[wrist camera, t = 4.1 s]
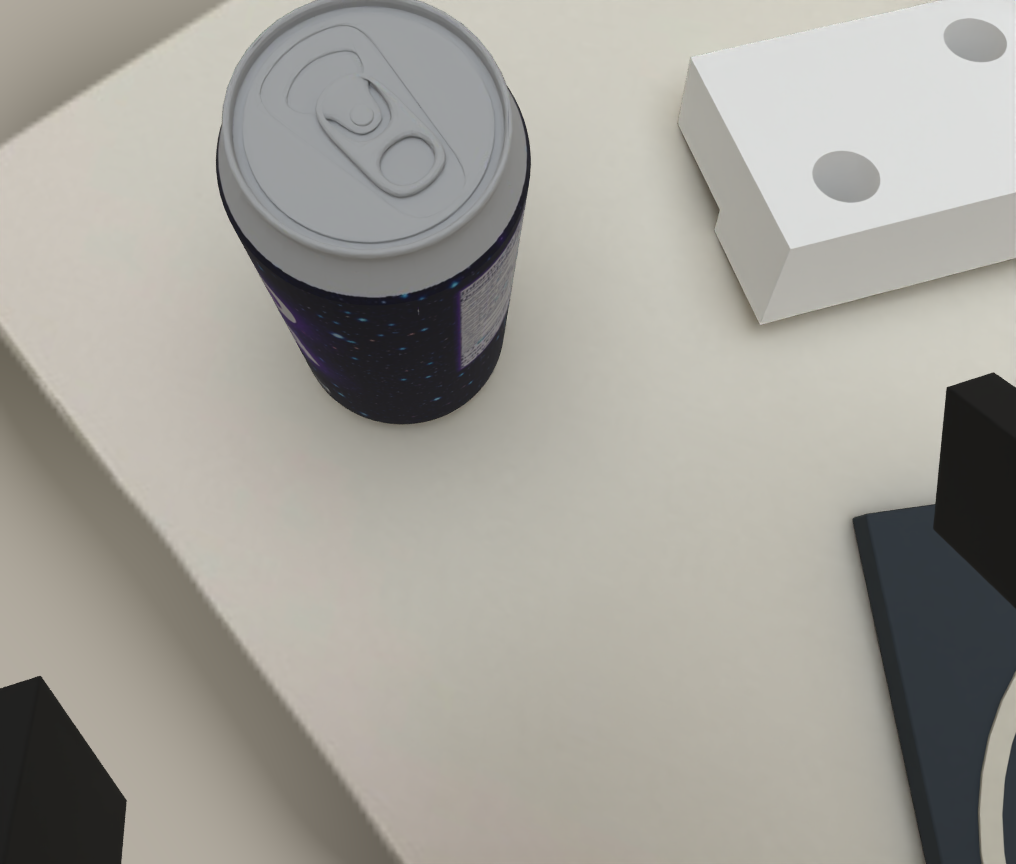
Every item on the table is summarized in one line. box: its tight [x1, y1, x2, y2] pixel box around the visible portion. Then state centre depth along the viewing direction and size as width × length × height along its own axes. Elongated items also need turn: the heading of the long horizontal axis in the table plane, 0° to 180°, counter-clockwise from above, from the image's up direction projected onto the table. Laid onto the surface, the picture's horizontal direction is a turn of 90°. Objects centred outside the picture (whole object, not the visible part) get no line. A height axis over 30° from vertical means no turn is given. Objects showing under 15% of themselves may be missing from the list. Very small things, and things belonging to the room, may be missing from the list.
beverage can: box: [216, 0, 531, 424], centre depth 22 cm, size 6×6×12 cm
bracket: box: [678, 0, 1016, 325], centre depth 26 cm, size 13×7×8 cm, turn 106°
